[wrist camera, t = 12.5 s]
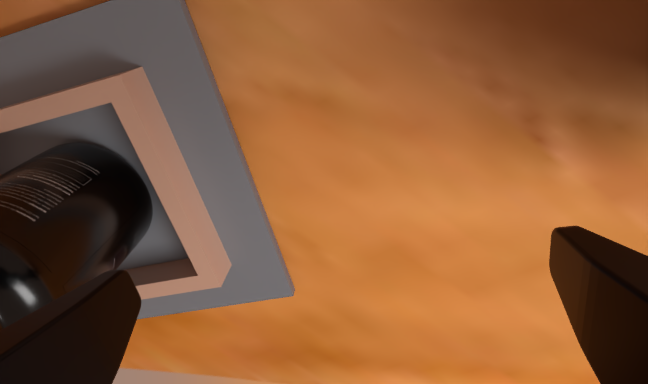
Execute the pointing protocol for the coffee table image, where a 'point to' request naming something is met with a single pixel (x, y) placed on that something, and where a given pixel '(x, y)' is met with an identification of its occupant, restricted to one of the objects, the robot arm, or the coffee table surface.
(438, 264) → the coffee table surface
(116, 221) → the supplement bottle
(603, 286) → the robot arm
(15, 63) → the dock tray
